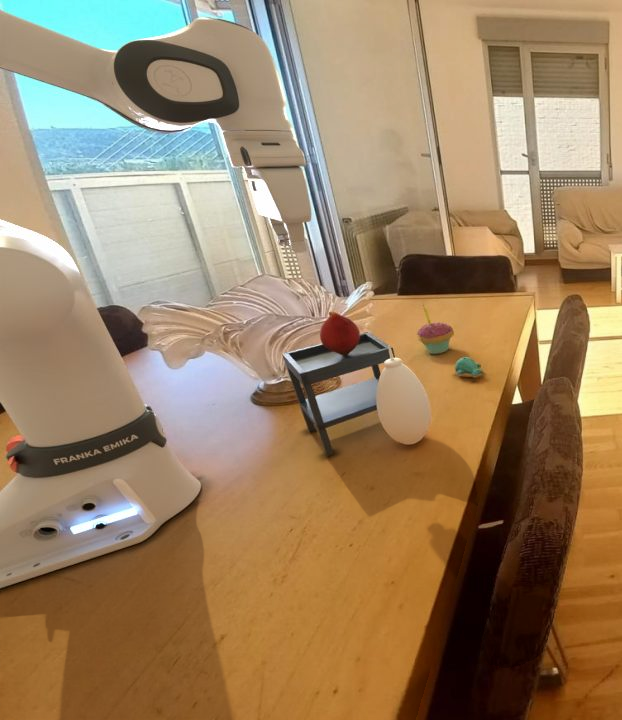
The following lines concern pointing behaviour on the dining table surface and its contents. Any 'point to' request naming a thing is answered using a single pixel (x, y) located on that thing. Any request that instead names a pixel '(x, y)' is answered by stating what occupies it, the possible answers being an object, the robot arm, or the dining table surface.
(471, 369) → the teal animal figurine
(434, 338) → the cupcake
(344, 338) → the onion
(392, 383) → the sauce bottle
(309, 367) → the rack
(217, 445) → the dining table surface
